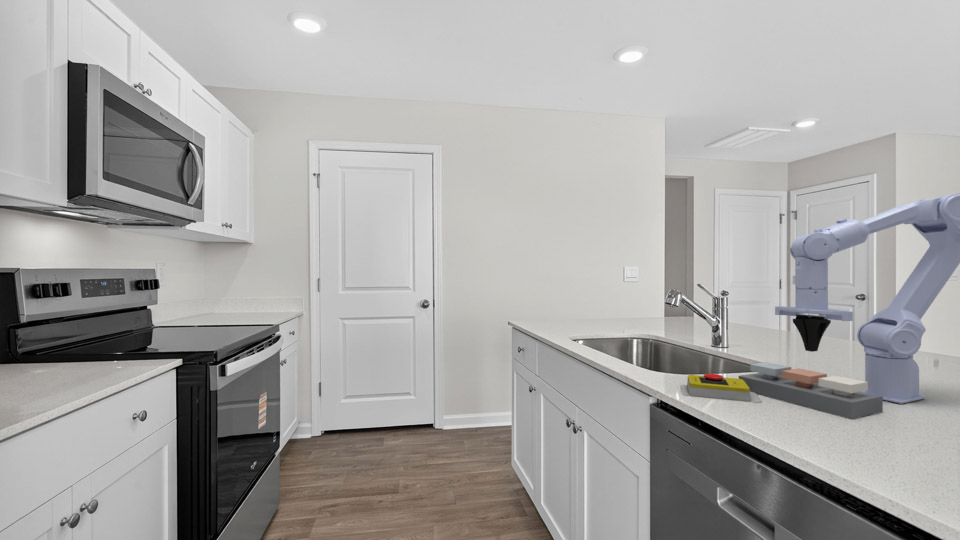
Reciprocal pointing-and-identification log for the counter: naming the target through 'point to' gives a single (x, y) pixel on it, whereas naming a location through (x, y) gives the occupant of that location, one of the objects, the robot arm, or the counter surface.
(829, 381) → the ivory key
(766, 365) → the slate key
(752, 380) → the key console
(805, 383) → the terracotta key
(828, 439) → the counter surface
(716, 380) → the emergency button
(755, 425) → the counter surface
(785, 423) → the counter surface
